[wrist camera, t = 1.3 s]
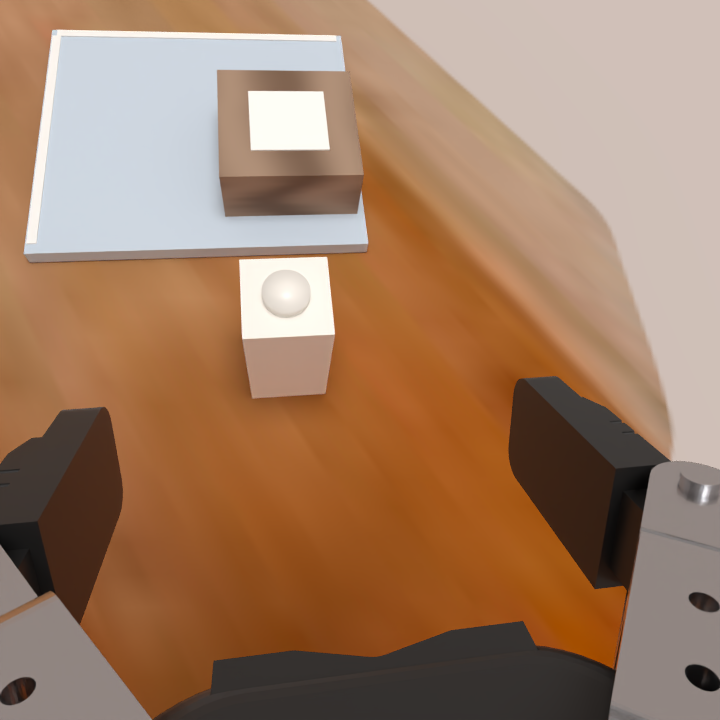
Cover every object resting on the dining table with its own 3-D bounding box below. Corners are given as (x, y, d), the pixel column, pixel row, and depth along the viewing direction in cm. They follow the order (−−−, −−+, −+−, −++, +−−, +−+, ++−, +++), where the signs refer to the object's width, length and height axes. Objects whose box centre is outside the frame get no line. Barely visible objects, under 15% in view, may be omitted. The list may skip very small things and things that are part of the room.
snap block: (252, 398, 37) (241, 333, 28) (249, 332, 38) (238, 253, 30) (325, 393, 37) (335, 329, 29) (319, 329, 39) (327, 250, 31)
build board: (30, 262, 39) (-6, 213, 34) (57, 41, 46) (31, -23, 42) (366, 252, 42) (376, 205, 37) (339, 46, 50) (344, -13, 45)
